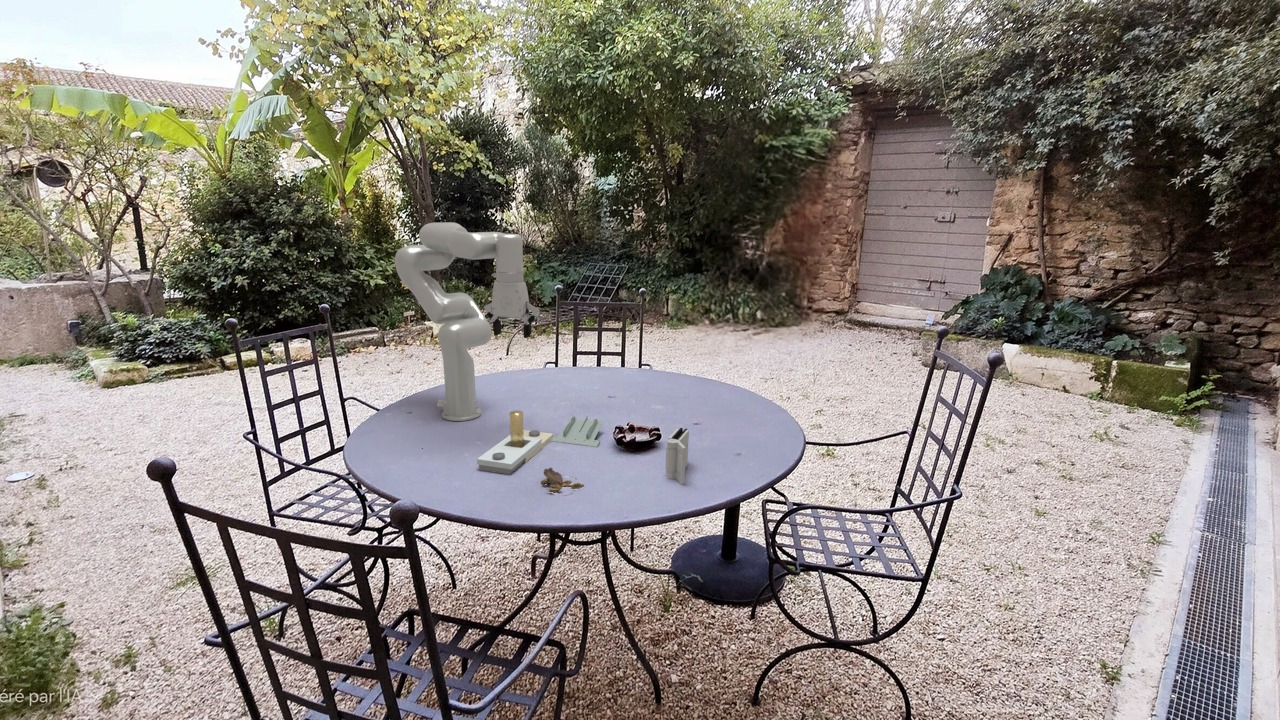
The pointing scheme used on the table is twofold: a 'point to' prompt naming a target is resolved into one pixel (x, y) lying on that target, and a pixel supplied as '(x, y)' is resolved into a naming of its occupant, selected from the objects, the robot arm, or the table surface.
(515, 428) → the brass pin
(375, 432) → the table surface
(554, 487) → the frog figurine
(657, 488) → the table surface
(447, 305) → the robot arm
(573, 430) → the metal bracket
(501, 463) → the white peg board
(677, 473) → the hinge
